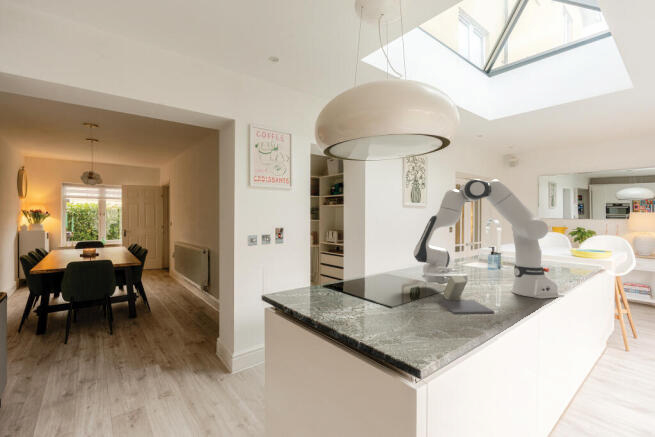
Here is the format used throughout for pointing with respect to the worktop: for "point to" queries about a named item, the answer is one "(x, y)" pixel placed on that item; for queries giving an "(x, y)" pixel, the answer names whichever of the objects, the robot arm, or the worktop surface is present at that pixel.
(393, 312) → the worktop surface
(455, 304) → the mat
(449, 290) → the skincare box
